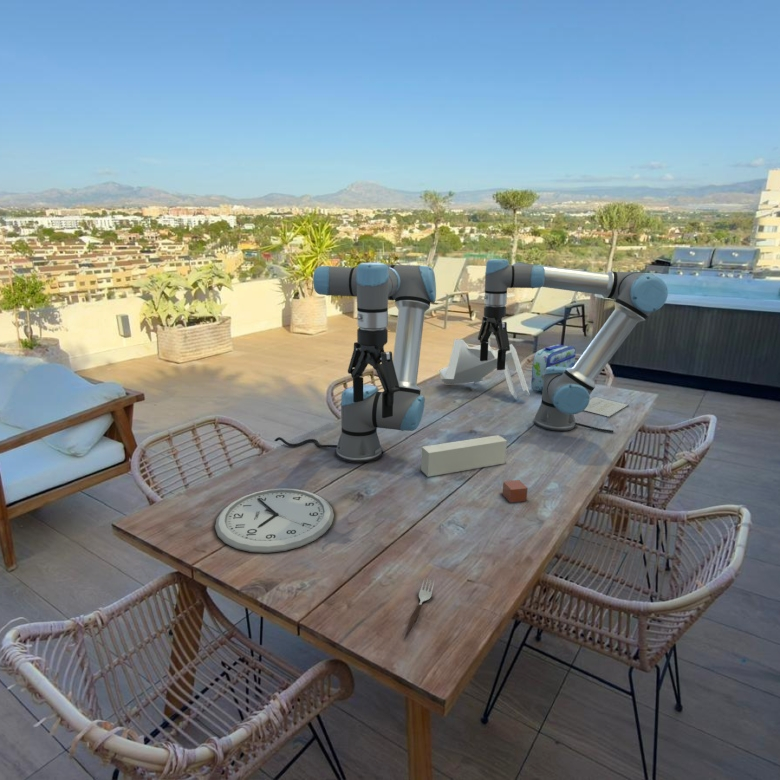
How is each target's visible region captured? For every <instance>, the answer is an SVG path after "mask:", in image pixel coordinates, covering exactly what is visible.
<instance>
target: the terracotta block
mask: <svg viewBox="0 0 780 780" xmlns="http://www.w3.org/2000/svg"><path fill="white" fill-rule="evenodd" d="M502 483H503V484H502V495H503V497H504V498H505V499H506V500H507V501H508V502H509V503H519V502H526V501H527V499H528V486H526V485H525V484H524V483H523V482H522V481H521V480H520V479H516V480H506V481H503V482H502Z"/></svg>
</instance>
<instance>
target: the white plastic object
mask: <svg viewBox="0 0 780 780" xmlns="http://www.w3.org/2000/svg"><path fill="white" fill-rule="evenodd" d="M509 345H510V351H506V360H505V370H503V373H504V376H505V380H506V383H507V386H508V390H509V393H510V394H511V395H512V397H513V398H514V399H515V400H517V392H516V391H517V390H516V388H515V385H514V381H513V378H512V375H511V371H510V369H509V365H508V361H510V360H513V363H514V366H515V369H516V372H517V376H518V380H519V382H520V385H521V389H522V391H523V393H524V395H525V396H526V397H528V396H531V395H530V390H529V388H528V387H529V386H528V384H527V381H526V378H525V375H524V371H523V369H522V368H523V367H522V366H521V362H520V359H519V355H518V352H517V349H516V347H515V346H514V345H513V343H511V344H510V343H509ZM480 348H481V344H479V345H473V346H469V345H468V343H466V342H465V340H464V339H463V338H460V339H458V338H454V340H453V344H452V349H451V353H450V357H449V362H448V366H446V367H444V368H442V369H440V370H439V371H438V372H439V376H440V381H442V383H443V384H444V385H445V386H449V385H458V384H467V383H468V384H469V383H473V384H477V383H480V382H482V381H484V378H485V377H486V376H487V375H489V374H490V373H492V372H494V371H495V370H497V357H498V350H499V348H498V349H496V350H495V349H493V348H492V347H491V346H490V344H489V343H488V361H480Z"/></svg>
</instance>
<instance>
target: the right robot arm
mask: <svg viewBox="0 0 780 780" xmlns="http://www.w3.org/2000/svg"><path fill="white" fill-rule="evenodd" d="M484 275H485V276H484V296H483V300H484V301H483V303H484V306H483V316H482V319H481V324H480V329H479V332H478V335H477V340H478V341H479V343H480V345H481V348H480V361H488V344H489V339H490V337H491V336H492V334H493V336H494V338H495V341H496V344H497V348H498V349H499V350H498V349H497V350H498V357H497V368H496V370H497V371H504V370H505V360H506V351H510V339H509V334H508V323H507V321H503V320H502V319H503V318H505V317H506V314H507V307H506V305H507V299H508V289H532V290H533V289H541V288H548V289H555V290H562V291H570V292H578V293H586V294H592V295H593V294H594V295H599V296H600V295H601V296H602V297H603V298H604V299H608V300H614V302H613V304H614V310H613V311H612V313H611V314H610V315H609V317H608V318H607V320H606V321H605V322H604V324H603V325H602V326H601V328H600V329H599V331H597V333H596V335H595V336H594V337H593V339H592V340H591V342H590V343H589V344H588V346H587V347H586V348H585V350H584V351H583V353H582V354H581V355H580V357H579V358H578V359H577V361H576V362H575V365H574V367H572V368H569V367H556V366H554V367H547V368H546V369H545V373H544V382H543V392H542V391H541V393H542V394H541V402H540V405H539V407H538V410H537V411H536V413H535V416H534V424H535V425H536V426H537V427H539V428H542V429H544V430H549V431H556V432H567V431H572V430H574V429H575V428H576V426H579V427H583V428H586V429H591V430H595V431H599V432H605V433H612V434H614V430H613V429H605V428H600V427H595V426H592V425H588V424H584V423H579V422H576V418H575V417H576V416H575V415H577V414H580V413H582V412H583V411H584V409H585V408H586V407H587V406H588V404H589V400H590V399H591V397H590V395H591V394H592V392H593V391H594V390H595V389H596V383H595V381H596V380H597V378H598V377H599V376H600V374H601V372H602V371H603V370H604V369H605V368H606V366H607V365H608V363H609V362H610V361H611V359H612V358H613V356H614V355H615V354H616V352H617V351H618V350H619V348H620V347H621V346H622V344H623V343H624V342H625V340H626V339H627V338H628V336H629V335H630V334H631V332H632V331H633V329H634V328H635V327H636V326H637V324H638V323H641V322H645V321H646V320H647V319H648V317H649V316H650V315H651V313H653V312H656V311H658V310H660V309H661V308H662V307H663V306H664V305H665V304H666V301H667V299H668V296H669V295H668V294H669V290H668V286H667V284H666V283H665V281H664V280H663V279H662V278H661V277H659V276H657V275H655V274H652V273H646V272H645V273H643V272H640V271H614V270H609V271H607V272H598V271H590V270H581V269H575V268H574V269H573V268H566V267H558V266H551V265H550V266H549V265H542V264H533V263H526V262H524V261H523V262H522V261H518V262H515V263H513V264H512V265H511V264H510V261H509V260H508V259H506V258H493V259H492V258H491V259H488V260H487V261H486V264H485V273H484Z"/></svg>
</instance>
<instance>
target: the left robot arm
mask: <svg viewBox="0 0 780 780" xmlns="http://www.w3.org/2000/svg"><path fill="white" fill-rule="evenodd" d="M312 276H313V277H312V284H313V285H312V286H313V288H314V292H315V293H316V294H317V295H321V296H334V297H340V296H341V297H354V298H355V297H356V310H357V311H356V313H357V315H356V319H357V321H356V322H357V323H356V324H357V330H356V341H357V342H356V341H355V342H354V343H353V350H352V354H351V358H350V360H349V361H350V362H349V365H348V368H347V373H348V375H350V376H351V378H352V386H349V387H348V388H345V389H344V390H343V391H342V393H341V397H340V398H341V399H340V417H341V419H340V420H341V421H340V422H341V423H340V425H341V433H340V435H339V439H338V442H337V444H320V442H319V441H318V440H317V439H315V438H308V439H304V440H303V441H300V442H296V443H291V442H288V441H287V440H285V439H284V438H283V437H281V436H279V437H276V438H275V439H274V442H278V441H281V442H282V443H283V444H284V445H285V446H289V447H299V446H301V445H304V444H306V443H311V442H313V443H315V444H316V446H317V447H318V448H321V449H322V448H323V449H324V448H326V449H327V448H328V449H329V448H333V449H335V448H336V449H335V453H336V457H337V458H338V459H339V460H341V461H344V462H348V463H351V464H352V463H353V464H364V463H370V462H374V461H376V460H378V459H380V458H381V456H382V455H383V453H382V452H383V447H382V445H381V442H380V438H379V435H378V429H387V430H396V431H400V432H404V431H406V432H407V431H408V432H413V431H415V430H417V429H418V428H419V426H420V423H421V421H422V418H423V414H424V409H425V402H426V399H425V396H424V395H422V394H421V388H420V387H419V386H418V375H419V367H420V357H421V348H422V338H423V330H424V329H423V328H424V320H425V313H426V312H427V311H429V310H430V307H431V304H433V303H435V302H436V300H437V282H436V275H435V271H434V268H433V267H431V266H429V265H421V264H418V265H415V264H414V265H413V264H386V263H383V262H361V263H359V264H358V265H357V266H336V265H335V266H333V265H332V266H331V265H321V266H318V267H316V268H315V270H314V272H313V275H312ZM389 301H394V307H396V308H397V310H398V311H397V319H396V327H395V338H394V345H393V351H385V345H386V344H387V343H388V339H389V336H388V335H389V334H388V333H389V330H388V329H387V328H388V326H389V306H388V305H389ZM368 365H370V366H371V367H372V369H373V370H375V372H376V374H377V376H378V379H379V381H380V383H381V386H382V390H383V391H378V390H379V389H378V387H377V386H376V385H373V384H364V374H363V373H364V372H365V370H366V368H368Z"/></svg>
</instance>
